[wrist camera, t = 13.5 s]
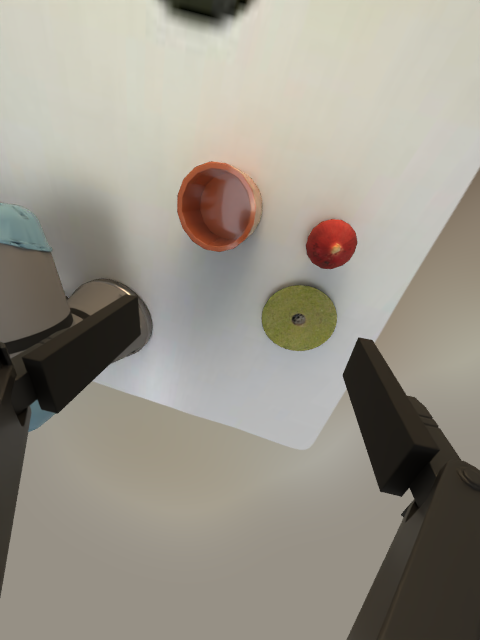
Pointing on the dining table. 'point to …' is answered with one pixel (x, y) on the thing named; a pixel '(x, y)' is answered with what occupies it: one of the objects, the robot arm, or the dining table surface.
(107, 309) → the robot arm
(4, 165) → the dining table surface
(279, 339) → the mat
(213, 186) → the flower pot
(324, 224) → the onion
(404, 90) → the dining table surface
